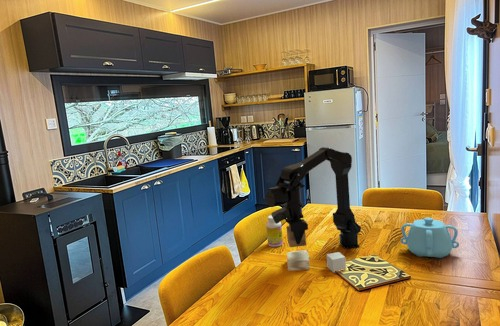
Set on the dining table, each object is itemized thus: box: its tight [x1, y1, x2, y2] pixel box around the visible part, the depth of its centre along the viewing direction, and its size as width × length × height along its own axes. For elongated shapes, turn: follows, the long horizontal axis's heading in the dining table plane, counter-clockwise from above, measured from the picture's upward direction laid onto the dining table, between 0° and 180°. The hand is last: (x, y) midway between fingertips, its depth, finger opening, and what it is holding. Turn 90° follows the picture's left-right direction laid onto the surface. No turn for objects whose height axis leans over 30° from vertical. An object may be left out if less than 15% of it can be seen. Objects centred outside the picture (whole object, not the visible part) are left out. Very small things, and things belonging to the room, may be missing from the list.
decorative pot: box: [400, 217, 460, 259], centre depth 139 cm, size 16×16×14 cm
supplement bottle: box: [265, 214, 284, 248], centre depth 162 cm, size 7×7×13 cm
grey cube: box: [326, 251, 347, 273], centre depth 135 cm, size 5×5×5 cm
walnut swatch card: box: [292, 249, 310, 259], centre depth 149 cm, size 7×7×1 cm
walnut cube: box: [285, 225, 307, 248], centre depth 138 cm, size 6×6×6 cm
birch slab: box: [286, 250, 311, 272], centre depth 140 cm, size 8×8×4 cm
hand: (296, 240), depth 139 cm, fingers closed on walnut cube, 6 cm apart
